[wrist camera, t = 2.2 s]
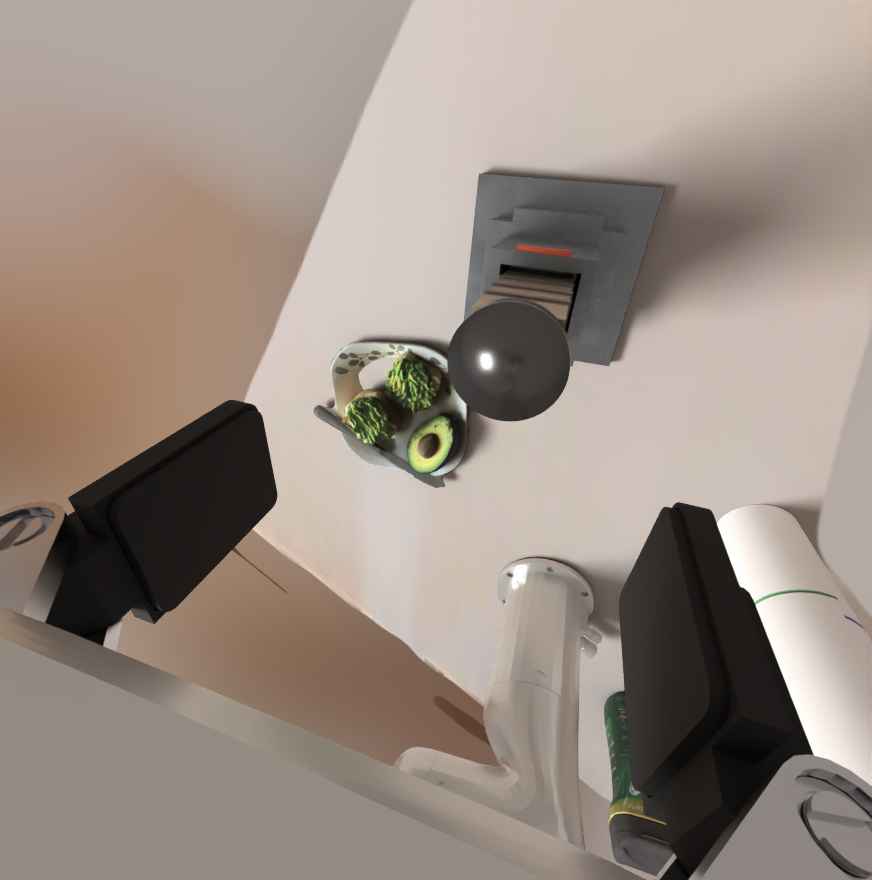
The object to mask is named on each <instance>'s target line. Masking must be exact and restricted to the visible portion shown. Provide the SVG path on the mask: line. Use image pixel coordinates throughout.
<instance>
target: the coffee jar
mask: <svg viewBox="0 0 872 880" xmlns="http://www.w3.org/2000/svg"><path fill="white" fill-rule="evenodd" d="M604 715H605V726H606V734H607V740H608V747H609V754H610V762H611V771H612V784H613V800H612V803H611V806H610V810H609V816H608V823H609V829H610V837H611V842H612V849H613V854H614V858H615V860H616V861H617V862H618V863H620V864H624V865H627V866H630V867H633V868H635V869H638V870H641V871H643V872H646V873H649V874H651V875H654V876H657V874H658V873H659V872H660V871H661V869H662V868H663V867H664V865H665V864H666V863H667V862H668V860H669V859H670V858H671V857H672V855H673V854H674V853H673V851H672V850H671V848H670V847H669V843H668V834H667V826H666V823H664V822H661V821H658V820H656V819H653V818H651V817H648V816H646V815H644V811H643V799H642V793H641V792H639V791H636V790H635V789H634V788H633V786H632V782H631V775H630V760H629V746H628V731H627V716H626V702H625V694H623V693H618V694H615V695H612V696H610V697H609V698H608V699H607V701H606V704H605V707H604Z"/></svg>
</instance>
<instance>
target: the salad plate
mask: <svg viewBox="0 0 872 880" xmlns="http://www.w3.org/2000/svg"><path fill="white" fill-rule="evenodd" d="M381 358H397V359H396V360H395V361H394V363H393V364H394V365H393V368H392V371H389V372H387V373H386V376H387V377H388V378H389V380H388V381H387V382H386V384H385V386H386V388H384V389H382V390H380V391H378V390H376V389H367V390H363V389H362V386H361V384H360V381H359V378H358V374H359V372H360V371H361V370H362V369H363V368H364V367H365V366H366V365H368V364H369V363H371V362H372V361H375V360H378V359H381ZM331 379H332V385H333V391H334V396H335V405H334V407H332V408H328V407H324V406H320V405H318V406H316V407H315V408H314V414H315V415H316V416H317V417H318V418H320V419H321V420H323V421H325V422H326V423H328V424H330V425H331V426H333V427H335V428H336V429H338V430H340V431H341V434H342V437H343V439H344V441H345V443H346V444H347V446H348V447H349V448H350V449H351V450H352V451H353V452H354V453H355V454H356V455H357V456H358V457H359V458H360V459H361V460H363V461H364V462H366V463H368V464H372V465H375V466H379V467H385V468H391V469H396V470H404V471H407V472H408V473H411V474H412V475H414V477H415V478H417V479H419V480H420V481H422V482H424V483H426V484H428V485H430V486H433V487H435V488H439V487H445V485H444V482H443V477H444V475H445V474H447V473H448V472H450V471H451V470H453V469H454V468H455V467H456V466H457V465H458V464H459V463H460V461H461V460H462V459H463V457H464V455H465V451H466V447H467V436H468V432H469V428H468V416H469V406H468V405H467V404H466V403H465V402H464V401H463V400H462V399H461V398H460V397H459V395H458V394H457V392H456V391H455V389H454V387H453V385H452V383H451V380H450V377H449V373H448V366H447V355H446V354H444V353H443V352H441V351H440V350H438V349H436V348H433V347H430V346H428V345H424V344H420V343H415V342H408V343H389V342H354V343H352V344H349V345H348V346H346V347H344V348H342V349H341V350H340V352H339V353H338V354H337V355H336V357H335V358H334V359H333V360H332V363H331ZM446 392H447V394H446ZM393 435H395V437H396V439H395V440H392V439H391V436H393Z"/></svg>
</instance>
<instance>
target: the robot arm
mask: <svg viewBox="0 0 872 880" xmlns="http://www.w3.org/2000/svg"><path fill="white" fill-rule="evenodd" d="M68 499H69V501H70V502H71V504H72V506H73V508H74V510H75V511H74V512H73V513H71V514H70V515H68V516H67V514H66V513H65V511H64V509H63V508H62V506H60V505H58V504H56V503H52V502H34V503H28V504H23V505H20V506H15V507H12V508H10V509H7V510H4V511H2V512H0V880H645V879H643V878H641V877H639V876H637V875H636V874H634V873H632V872H630V871H627V870H625V869H624V868H621V867H620V866H617V865H616V864H614V863H612V862H610V861H608V860H605V859H603V858H601V857H598V856H596V855H594V854H592V853H590V852H587V851H585V843H584V834H583V825H582V815H581V806H580V793H579V774H578V721H579V674H580V652H581V653H583V654H584V655H586V656H587V657H589V658H592V657H593V656H594V655H595V654H596V652H597V646H596V645H595V644H594V643H596V644H599V643H600V642H601V640H602V635H601V634H600V633H598V632H597V631H595V630H594V629H591V628H590V627H589V625H588V623H587V618H588V617H589V616H590V614H591V613H592V610H593V605H594V598H593V592H592V589H591V587H590V585H589V584H588V582H587V581H586V579H585V578H584V577H582V576H581V575H580V574H579V573H578V572H576V571H575V570H574V569H572V568H570V567H568V566H566V565H564V564H562V563H559V562H556V561H553V560H548V559H541V558H529V559H522V560H518V561H516V562H513V563H511V564H509V565H508V566H507V567H505V568H504V569H503V571H502V572H501V573H500V575H499V578H498V582H497V594H498V597H499V599H500V601H501V603H502V604H503V605H504V610H503V615H502V620H501V625H500V630H499V635H498V640H497V645H496V650H495V655H494V660H493V665H492V670H491V674H490V679H489V684H488V689H487V694H486V699H485V705H484V724H485V730H486V733H487V737H488V739H489V742H490V744H491V747H492V749H493V751H494V754H495V756H496V758H497V760H498V762H499V764H500V766H501V767H494V766H490V765H486V764H485V765H482V764H479V763H476V762H473V761H470V760H466V759H463V758H460V757H456V756H453V755H450V754H447V753H444V752H440V751H437V750H433V749H429V748H424V747H414V748H410V749H408V750H406V751H405V752H404V753H403V754H402V755H401V756H400V757H399V758H398V760H397V761H396V763H395V765H394V767H391V766H389V765H387V764H384V763H382V762H380V761H377V760H375V759H373V758H370V757H368V756H365V755H363V754H361V753H358V752H356V751H354V750H351V749H349V748H346V747H344V746H342V745H340V744H337V743H335V742H332V741H330V740H327V739H325V738H323V737H320V736H318V735H316V734H313V733H311V732H308V731H306V730H304V729H301V728H299V727H297V726H294V725H292V724H289V723H287V722H285V721H282V720H280V719H277V718H275V717H273V716H270V715H268V714H265V713H263V712H261V711H258V710H256V709H253V708H251V707H249V706H246V705H244V704H242V703H239V702H237V701H234V700H232V699H229V698H227V697H225V696H222V695H220V694H218V693H215V692H213V691H210V690H208V689H205V688H203V687H201V686H198V685H196V684H193V683H191V682H188V681H186V680H184V679H182V678H179V677H177V676H174V675H172V674H169V673H167V672H164V671H162V670H160V669H157V668H155V667H152V666H150V665H147V664H145V663H142V662H140V661H138V660H135V659H133V658H130V657H128V656H125V655H123V654H121V653H118V652H116V648H117V644H118V640H119V635H120V631H121V626H122V622H123V616H124V615H125V614H126V613H127V612H128V611H130V610H131V611H132V613H133V614H134V616H135V617H137V618H140V619H142V620H145V621H147V622H150V623H153V624H155V623H156V622H157V621H158V620H159V619H160V618H161V617H162V616H163V615H164V614H165V613H166V612H168V611H171V610H173V609H175V608H176V607H177V606H178V605H179V604H180V603H181V602H182V601H183V600H184V599H185V598H186V597H187V596H188V595H189V593H191V591H192V590H193V589H194V588H195V587H196V586H197V585H198V584H199V583H200V582H201V581H202V580H203V579H204V578H205V577H206V576H207V575H208V574H209V573H210V572H211V571H212V570H213V569H214V568H215V567H216V566H217V565H218V564H219V563H220V562H221V560H222V559H223V558H224V557H225V556H226V555H227V554H228V553H229V552H230V551H231V550H232V549H233V548H234V547H235V546H236V545H237V544H238V543H239V542H240V541H241V540H242V539H243V537H245V536H246V535H247V534H248V533H249V532H250V531H251V529H252V528H253V527H254V526H255V525H256V524H257V523H258V522H259V521H260V520H261V519H262V518H263V517H264V516H265V515H266V514H267V513H268V512H269V511H270V510H271V509H272V508H273V506H274V505H275V503H276V500H277V489H276V484H275V479H274V474H273V469H272V464H271V459H270V453H269V448H268V443H267V438H266V433H265V428H264V422H263V418H262V415H261V413H260V412H258V410H257V408H256V407H255V406H254V405H252V404H249V403H244V402H240V401H236V400H229V401H226V402H225V403H223V404H221V405H219V406H218V407H216V408H215V409H213V410H211V411H210V412H208V413H206V414H205V415H203V416H201V417H200V418H198V419H197V420H195V421H193V422H192V423H190V424H188V425H187V426H185V427H183V428H182V429H180V430H178V431H177V432H176V433H174V434H172V435H170V436H169V437H167V438H165V439H164V440H162V441H161V442H159V443H157V444H156V445H154V446H152V447H151V448H149V449H147V450H146V451H144V452H142V453H141V454H139V455H138V456H136V457H134V458H133V459H131V460H129V461H128V462H126V463H124V464H123V465H121V466H119V467H118V468H116V469H115V470H113V471H111V472H110V473H108V474H106V475H105V476H103V477H102V478H100V479H98V480H96V481H95V482H93V483H92V484H90V485H88V486H87V487H85V488H83V489H82V490H80V491H78V492H77V493H75V494H74V495H72V496H70V497H69V498H68ZM619 614H620V629H621V643H622V658H623V673H624V687H625V702H626V716H627V731H628V746H629V760H630V775H631V782H632V786H633V788H634V789H635V790H636V791H639V792H641V793H642V799H643V811H644V815H646V816H648V817H651V818H653V819H656V820H658V821H661V822H664V823H666V826H667V834H668V843H669V847H670V848H671V850H672V851H673V853H674V854H673V855H672V857H671V858H670V859H669V860H668V862H667V863H666V864H665V865H664V867H663V868H662V869H661V871H660V872H659V873H658V874H657V876H656V877H655V878H654V879H653V880H872V786H871V785H870V784H868V783H867V782H865V781H864V780H863V779H861V778H860V777H859V776H857V775H856V774H855V773H853V772H852V771H851V770H849V769H847V768H845V767H843V766H841V765H839V764H837V763H835V762H833V761H831V760H829V759H826V758H822V757H818V756H814V754H813V752H812V749H811V746H810V744H809V741H808V739H807V736H806V734H805V731H804V728H803V726H802V723H801V721H800V718H799V716H798V713H797V710H796V708H795V705H794V703H793V700H792V698H791V695H790V692H789V690H788V687H787V685H786V682H785V680H784V677H783V675H782V672H781V669H780V667H779V664H778V662H777V659H776V657H775V654H774V651H773V649H772V646H771V644H770V641H769V639H768V636H767V633H766V631H765V628H764V626H763V623H762V621H761V618H760V615H759V613H758V610H757V608H756V605H755V603H754V600H753V598H752V597H751V595H750V593H749V592H748V591H747V590H746V589H745V588H743V587H740V585H739V583H738V580H737V577H736V575H735V572H734V569H733V566H732V564H731V561H730V558H729V556H728V553H727V550H726V547H725V545H724V542H723V539H722V537H721V534H720V531H719V528H718V526H717V523H716V520H715V518H714V515H713V513H712V511H711V510H709V509H706V508H702V507H697V506H693V505H688V504H684V503H680V502H678V503H676V504H675V505H674V506H673V507H672V508H669V507H664V508H663V509H662V510H661V512H660V514H659V516H658V518H657V520H656V522H655V524H654V526H653V528H652V530H651V532H650V534H649V536H648V538H647V540H646V543H645V545H644V547H643V549H642V551H641V553H640V555H639V557H638V559H637V561H636V563H635V565H634V567H633V569H632V571H631V573H630V575H629V577H628V579H627V581H626V584H625V586H624V588H623V590H622V592H621V596H620V601H619ZM584 635H585V636H586V637H587V638H588V639H590V640H591V641H593V642H594V643H592V642H591V641H590V640H588V639H587V638H585V637H582V636H584Z"/></svg>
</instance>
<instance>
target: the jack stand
mask: <svg viewBox="0 0 872 880" xmlns="http://www.w3.org/2000/svg"><path fill="white" fill-rule="evenodd" d="M664 189H665V188H662V187H649V186H635V185H622V184H609V183H596V182H583V181H570V180H557V179H544V178H530V177H517V176H504V175H491V174H479V178H478V188H477V198H476V208H475V217H474V227H473V237H472V246H471V256H470V266H469V276H468V285H467V295H466V305H465V314H464V321H465V320H466V319H467V318H468V317H469V316H470V315H471V311H472V306H473V305H474V304H475V303H476V301H477V300H478V299H479V298H480V297H481V296H482V295H483V290H484V289H489V288H490V287H491V282H492V281H497V280H498V276H499V275H503V274H504V273H505V272H506V271H507V270H508V269H509V268H510V265H515V266H523V267H531V268H539V269H547V270H555V271H563V272H571V273H576V275H575V279H574V288H573V295H572V299H571V301H572V303H571V307H570V311H569V315H568V319H567V324H566V328H565V331H566V333H567V336H568V339H569V343H570V348H571V362H570V366H573V362H574V360H575V361H581V362H587V363H593V364H599V365H605V366H609V365H610V362H611V359H612V355H613V352H614V349H615V346H616V343H617V339H618V336H619V333H620V330H621V327H622V323H623V320H624V317H625V314H626V311H627V307H628V304H629V301H630V298H631V294H632V291H633V288H634V285H635V282H636V278H637V275H638V272H639V269H640V266H641V262H642V259H643V256H644V253H645V250H646V246H647V243H648V240H649V237H650V234H651V230H652V227H653V224H654V221H655V217H656V214H657V211H658V208H659V205H660V201H661V198H662V195H663V192H664Z"/></svg>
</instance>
